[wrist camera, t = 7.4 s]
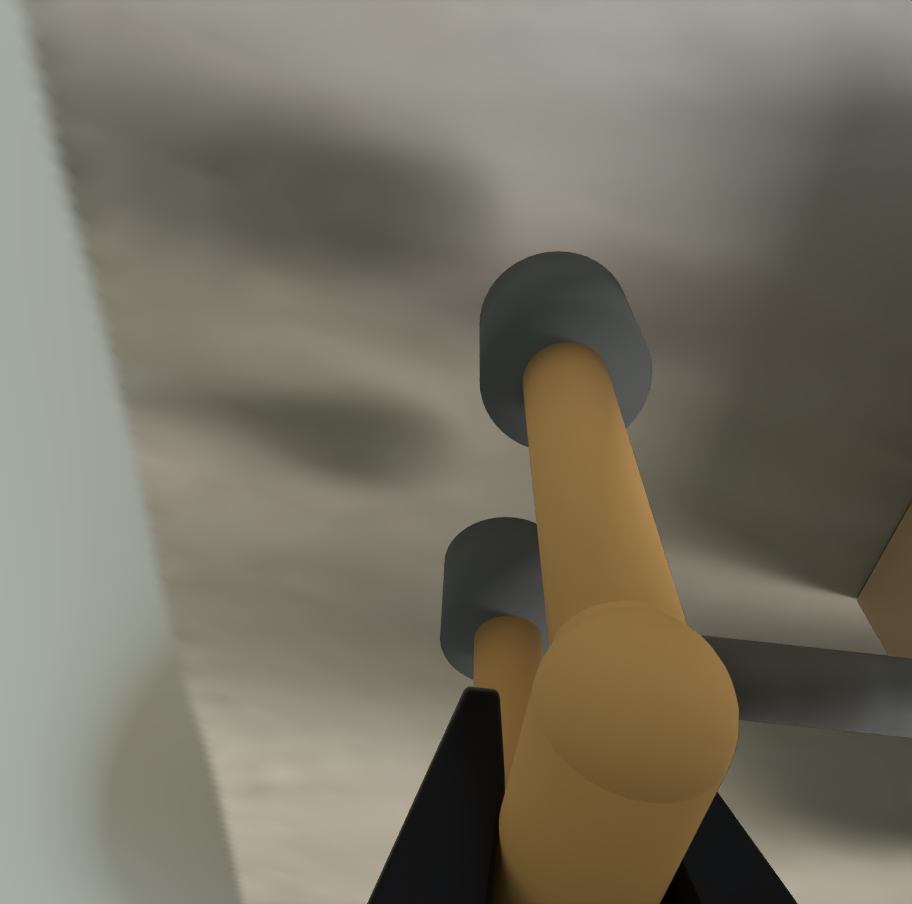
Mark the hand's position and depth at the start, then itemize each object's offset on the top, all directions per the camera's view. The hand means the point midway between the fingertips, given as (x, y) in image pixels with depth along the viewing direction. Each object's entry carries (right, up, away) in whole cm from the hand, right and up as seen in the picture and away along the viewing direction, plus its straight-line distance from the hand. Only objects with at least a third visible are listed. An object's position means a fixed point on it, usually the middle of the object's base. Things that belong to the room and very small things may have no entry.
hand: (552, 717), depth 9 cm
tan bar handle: (0, +3, +5) cm, 6 cm away
